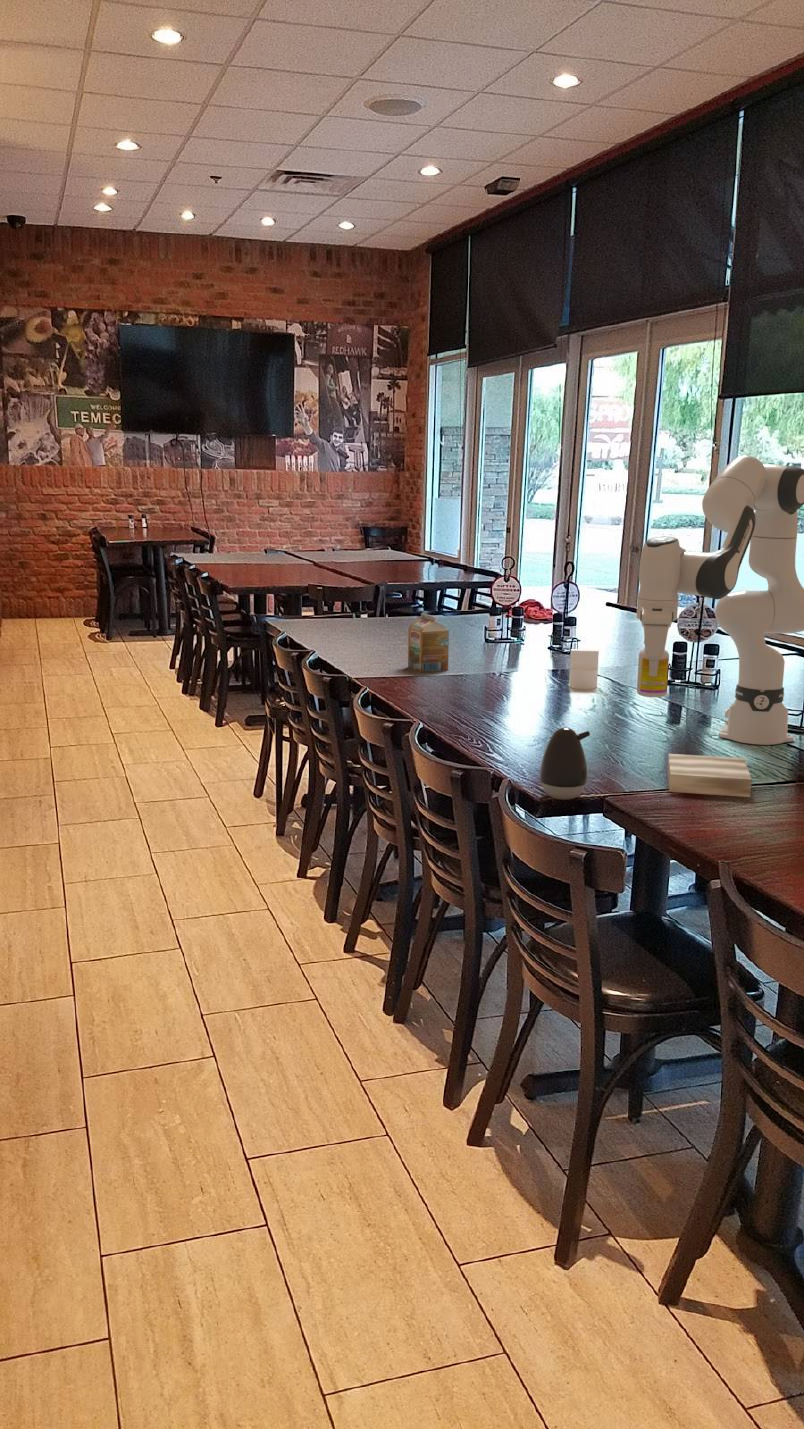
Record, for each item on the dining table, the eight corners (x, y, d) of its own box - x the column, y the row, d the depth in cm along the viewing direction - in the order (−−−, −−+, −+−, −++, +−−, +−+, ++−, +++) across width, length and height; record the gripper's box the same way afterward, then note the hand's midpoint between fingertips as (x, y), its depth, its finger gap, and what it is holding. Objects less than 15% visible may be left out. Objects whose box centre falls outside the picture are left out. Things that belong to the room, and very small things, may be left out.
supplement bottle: (671, 697, 243) (674, 641, 240) (642, 698, 242) (646, 641, 239) (660, 691, 249) (663, 635, 246) (632, 692, 248) (635, 636, 245)
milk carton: (408, 667, 386) (408, 613, 382) (434, 665, 390) (435, 612, 386) (421, 672, 376) (421, 617, 372) (448, 670, 381) (449, 616, 377)
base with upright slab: (595, 684, 358) (597, 648, 355) (598, 689, 349) (599, 652, 347) (568, 683, 359) (569, 647, 356) (569, 688, 350) (571, 652, 347)
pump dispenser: (592, 803, 230) (596, 733, 226) (544, 803, 229) (547, 733, 226) (581, 789, 240) (584, 722, 236) (534, 789, 239) (537, 722, 236)
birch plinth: (667, 770, 256) (668, 753, 255) (742, 774, 252) (743, 758, 251) (669, 791, 238) (670, 774, 238) (750, 797, 235) (751, 779, 234)
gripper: (643, 604, 252) (639, 663, 255) (641, 617, 232) (637, 680, 236) (671, 605, 250) (667, 664, 254) (671, 618, 231) (667, 682, 234)
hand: (653, 672), depth 244 cm, fingers closed on supplement bottle, 7 cm apart
